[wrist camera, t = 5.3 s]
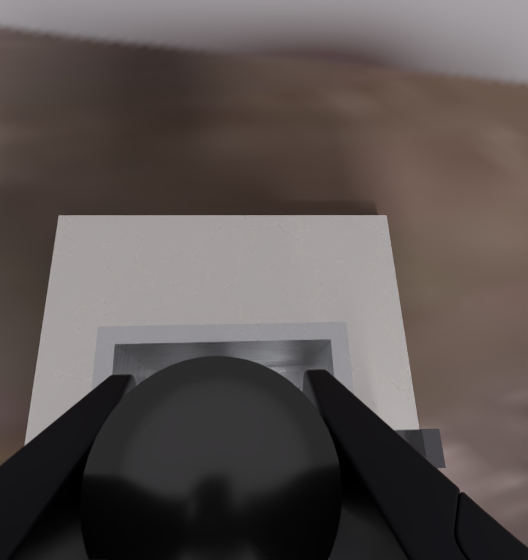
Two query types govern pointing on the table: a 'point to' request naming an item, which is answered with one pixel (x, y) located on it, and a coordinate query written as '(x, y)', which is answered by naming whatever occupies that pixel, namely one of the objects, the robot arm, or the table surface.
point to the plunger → (212, 469)
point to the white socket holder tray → (226, 306)
